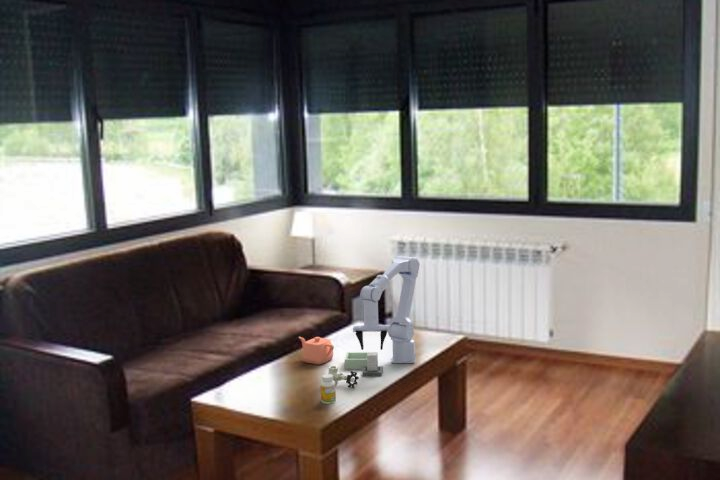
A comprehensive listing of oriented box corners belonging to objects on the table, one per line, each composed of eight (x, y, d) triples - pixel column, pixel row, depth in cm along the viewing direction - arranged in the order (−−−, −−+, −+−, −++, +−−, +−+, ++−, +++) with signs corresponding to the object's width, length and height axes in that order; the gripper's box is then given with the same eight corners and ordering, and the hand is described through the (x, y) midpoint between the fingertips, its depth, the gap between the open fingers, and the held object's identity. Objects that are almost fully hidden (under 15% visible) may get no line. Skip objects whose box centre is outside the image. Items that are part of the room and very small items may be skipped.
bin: (370, 361, 329) (369, 352, 328) (368, 368, 320) (367, 359, 319) (347, 361, 330) (346, 352, 329) (344, 368, 320) (344, 359, 320)
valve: (324, 384, 303) (348, 390, 296) (323, 368, 302) (347, 374, 294) (335, 380, 308) (359, 385, 301) (334, 363, 307) (358, 369, 300)
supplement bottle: (320, 399, 288) (319, 373, 286) (335, 398, 288) (334, 372, 286) (321, 404, 282) (320, 378, 281) (336, 403, 283) (335, 377, 281)
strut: (378, 371, 316) (378, 352, 315) (377, 374, 312) (377, 355, 311) (367, 371, 317) (367, 352, 315) (366, 375, 312) (366, 355, 311)
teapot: (326, 367, 323) (325, 343, 321) (291, 361, 332) (290, 337, 331) (341, 360, 332) (340, 336, 331) (307, 354, 342) (306, 331, 340)
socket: (382, 369, 318) (382, 366, 317) (381, 376, 310) (381, 372, 310) (364, 369, 318) (364, 366, 318) (362, 376, 311) (362, 372, 311)
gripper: (351, 318, 307) (353, 352, 309) (388, 318, 306) (389, 351, 308) (353, 314, 314) (354, 346, 316) (389, 313, 313) (390, 346, 315)
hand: (372, 349), depth 313 cm, fingers open, 7 cm apart
